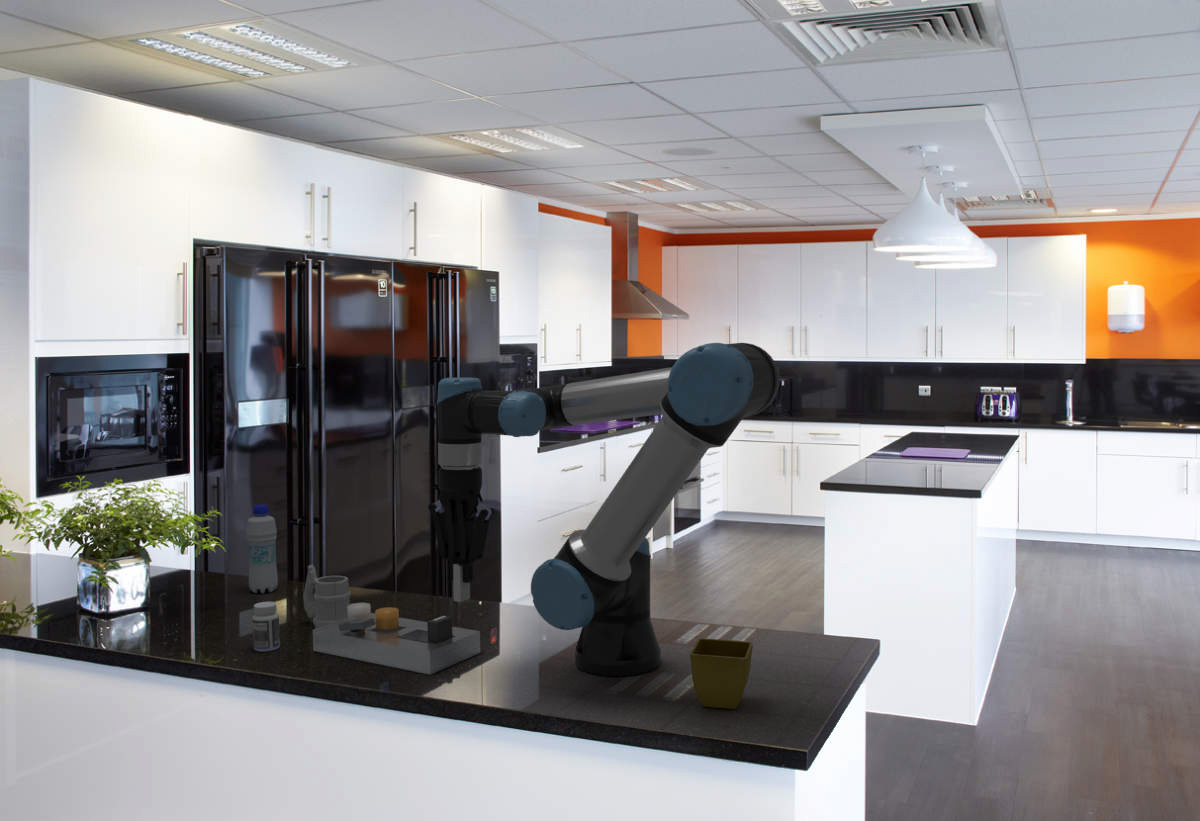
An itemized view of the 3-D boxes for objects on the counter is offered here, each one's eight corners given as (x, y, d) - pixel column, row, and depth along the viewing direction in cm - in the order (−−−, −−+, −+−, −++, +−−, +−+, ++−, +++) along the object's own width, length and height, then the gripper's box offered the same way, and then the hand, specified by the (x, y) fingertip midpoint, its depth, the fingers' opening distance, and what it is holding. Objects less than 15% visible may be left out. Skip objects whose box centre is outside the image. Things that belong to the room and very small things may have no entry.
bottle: (285, 589, 240) (282, 503, 239) (261, 596, 234) (258, 507, 233) (265, 586, 244) (262, 501, 242) (241, 592, 238) (238, 505, 237)
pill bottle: (273, 642, 199) (271, 599, 198) (284, 648, 195) (282, 604, 195) (249, 648, 196) (247, 604, 195) (259, 653, 192) (258, 608, 192)
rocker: (375, 624, 190) (373, 618, 190) (363, 628, 187) (362, 622, 187) (351, 627, 193) (350, 620, 193) (339, 631, 191) (338, 624, 191)
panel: (480, 652, 191) (479, 628, 191) (430, 674, 179) (429, 648, 179) (366, 631, 205) (365, 608, 205) (313, 650, 193) (312, 626, 193)
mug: (332, 635, 203) (330, 574, 202) (290, 626, 210) (288, 567, 209) (361, 625, 210) (359, 566, 209) (319, 617, 216) (318, 560, 215)
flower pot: (753, 696, 167) (753, 641, 166) (747, 716, 158) (747, 657, 158) (698, 692, 169) (698, 637, 168) (689, 711, 161) (689, 654, 160)
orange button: (403, 625, 194) (403, 609, 193) (388, 630, 190) (387, 614, 190) (386, 622, 196) (386, 606, 196) (371, 627, 192) (370, 611, 192)
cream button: (375, 620, 197) (375, 604, 197) (359, 625, 194) (359, 609, 193) (359, 617, 199) (358, 601, 199) (343, 622, 196) (342, 606, 196)
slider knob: (452, 645, 188) (452, 616, 188) (437, 651, 184) (436, 621, 184) (443, 643, 189) (442, 614, 189) (428, 650, 185) (427, 620, 185)
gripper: (503, 466, 181) (504, 599, 183) (444, 461, 188) (446, 590, 190) (476, 471, 175) (478, 610, 177) (417, 466, 182) (419, 599, 183)
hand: (461, 599), depth 183 cm, fingers closed
